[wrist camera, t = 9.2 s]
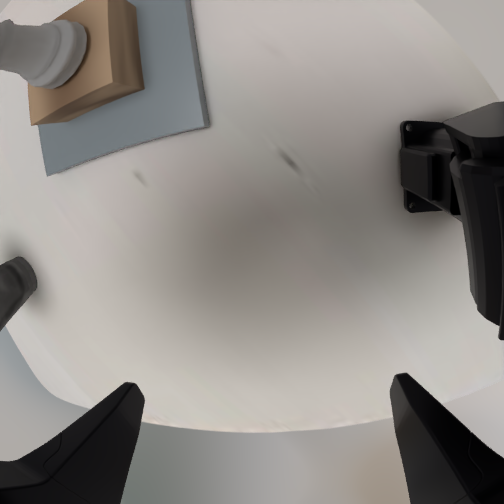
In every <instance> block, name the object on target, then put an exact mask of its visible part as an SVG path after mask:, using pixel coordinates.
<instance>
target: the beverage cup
mask: <svg viewBox="0 0 504 504" xmlns="http://www.w3.org/2000/svg"><path fill="white" fill-rule="evenodd" d="M36 288H37V280H36V276H35V274H34V271H33V269H32V268H31V266H30V264H29V263H28V262H27V261H26V260H25V259H24V258H22V257H16V258H15V259H13V260H10V261H7V262H5V263H4V264H2V265H0V331H1V330H2V328H3V327H4V326H5V325H6V324H7V322H8V321H9V320H10V319H11V318H12V316H13V315H14V314H15V313H16V312H17V311H18V310H19V308H20V307H21V306H22V305H23V304H24V303H25V302H26V301H27V299H28V298H29V297H30V295H31V294H32V293H33V292H34V291H35V290H36Z"/></svg>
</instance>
